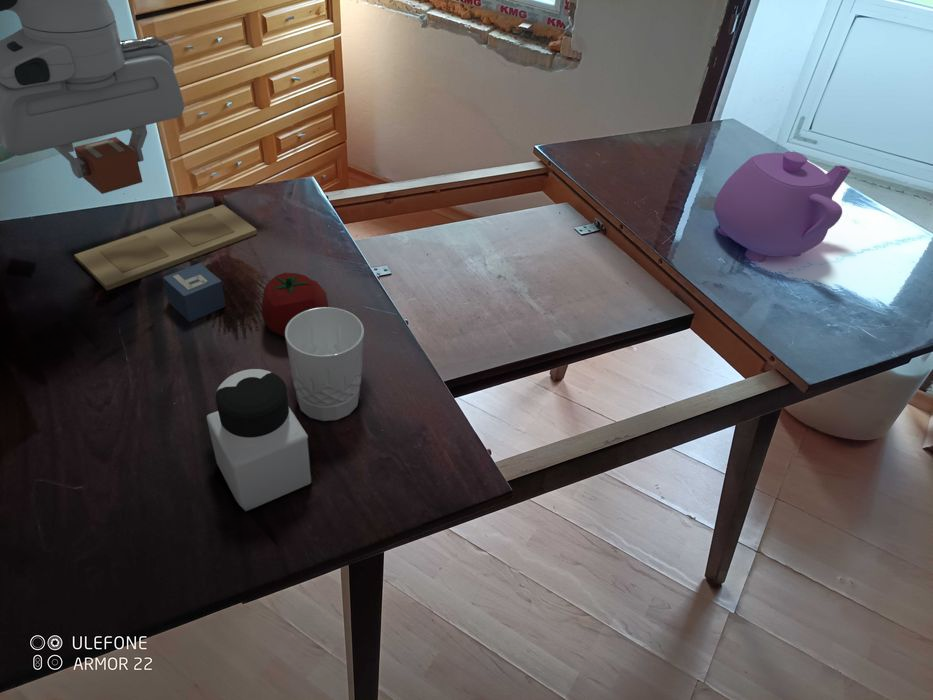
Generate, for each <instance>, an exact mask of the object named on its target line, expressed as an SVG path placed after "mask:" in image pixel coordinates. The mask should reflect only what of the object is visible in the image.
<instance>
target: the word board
mask: <svg viewBox="0 0 933 700" xmlns="http://www.w3.org/2000/svg"><path fill="white" fill-rule="evenodd" d="M256 235H258V229H257V228H255V227H254V226H253V225H251V224H250V223H249V222H247V221H246V220H245V219H243V218H242V217H241V216H239V215H238V214H236V213H235V212H234V211H232V209H229V208H228V207H227V206H225V205H224V204H220V205H218V206H215V207H211V208H209V209H206V210H203V211H199V212H196V213H194V214H190V215H188V216H185V217H181V218H179V219H176V220H173V221H170V222H167V223H164V224H161V225H158V226H154V227H152V228H149V229H146V230H143V231H141V232H138V233H135V234H131V235H129V236H125V237H122V238H119V239H117V240H113V241H110V242H108V243H105V244H101V245H98V246H95V247H93V248H90V249H86V250H84V251H81V252H78V253H75V254H73V255H74V259H75V261H76V262H78V263H79V265H80V266H82V268H84V270H86V271H87V272H88V273H89V275H91V276H92V277H93V279H95V280H96V281H97V282H98V283H99V284H100V285H101V286H102V287H103V288H104V289H105V291H110V290H113V289H116V288H118V287H121V286H124V285H126V284H128V283H132V282H134V281H137V280H139V279H142V278H145V277H147V276H150V275H153V274H155V273H158V272H161V271H164V270H165V269H168V268H171V267H174V266H176V265H179V264H181V263H185V262H187V261H189V260H192V259H195V258H197V257H201V256H204V255H205V254H208V253H210V252H213V251H216V250H218V249H221V248H224V247H227V246H229V245H232V244H235V243H237V242H240V241H243V240H245V239H248V238H250V237H253V236H256Z"/></svg>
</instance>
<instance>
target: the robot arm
mask: <svg viewBox="0 0 933 700" xmlns="http://www.w3.org/2000/svg"><path fill="white" fill-rule="evenodd" d="M3 11H11V12H13V13H15V14H16V15H17V17H18V18H19V22H20V24H21V29H19V30H17V31H16V32H13V33H12V34H10V35H8V36H6V37H5V38H3V39H1V40H0V145H1V147H2V148H4V149H5V150H6V151H8V152H9V153H11V154H13V155H15V156H17V157H19V156H20V157H21V156H26V155H30V154H32V153H37V152H42V151H46V150H50V149H54V150H56V151H57V152H58V153H59V154H60V155H61V156H63V158H65V160H67V161H68V162H69V165H70V168H71V172H72V173H73V175H74V176H75V177H76V178H77V179H84V178H83V177H86V176H89V175H91V172H90V170H89V165H88V162H87V161H85V160H84V159H83V158H82V157H78V158H77V157H74V156H73V155H72V154H71V153H73V152H75V149H74V143H79V142H83V141H87V140H90V139H91V140H92V139H95V138H99V137H103V136H107V135H111V134H116V133H119V132H124V131H128V130H129V131H130V132H131V133H130V134H131V135H130V138H129V142H128V144H126V145H127V146H128V147H130V148H131V149H132V150H134V151H135V152H136V157H137V161H138V163H140V162H144V160H145V159H144V154H143V150H142V149H143V147H144V144H145V141H146V138H147V136H148V130H147V126H149V125H153V124H157V123H161V122H165V121H169V120H174V119H177V118H180V117H181V116H182V114H183V112H184V110H185V103H184V98H183V94H182V91H181V87H180V83H179V81H178V78H177V76H176V74H175V71H174V70H175V58H174V54H173V49H172V48H171V46H170V44H169V43H168V42H167V41H165V40H163V39H161V38H158V37H157V36H156V35H149V36H145V37H142V38H132V39H131V38H130V39H124V40H121V38H120V34H119V30H118V26H117V21H116V16H115V13H114V11H113V9H112V7H111V5H110V3H109V0H0V12H3Z"/></svg>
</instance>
